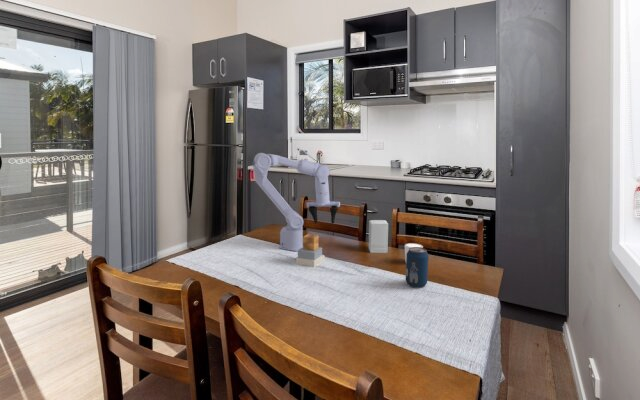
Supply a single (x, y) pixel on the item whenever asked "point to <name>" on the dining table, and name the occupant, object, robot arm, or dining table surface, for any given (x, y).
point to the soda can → (417, 267)
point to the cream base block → (310, 261)
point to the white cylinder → (410, 247)
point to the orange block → (310, 242)
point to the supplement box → (378, 236)
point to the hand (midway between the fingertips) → (324, 222)
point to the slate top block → (310, 253)
